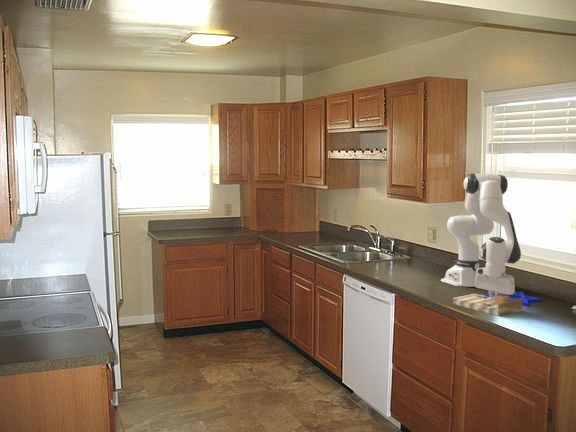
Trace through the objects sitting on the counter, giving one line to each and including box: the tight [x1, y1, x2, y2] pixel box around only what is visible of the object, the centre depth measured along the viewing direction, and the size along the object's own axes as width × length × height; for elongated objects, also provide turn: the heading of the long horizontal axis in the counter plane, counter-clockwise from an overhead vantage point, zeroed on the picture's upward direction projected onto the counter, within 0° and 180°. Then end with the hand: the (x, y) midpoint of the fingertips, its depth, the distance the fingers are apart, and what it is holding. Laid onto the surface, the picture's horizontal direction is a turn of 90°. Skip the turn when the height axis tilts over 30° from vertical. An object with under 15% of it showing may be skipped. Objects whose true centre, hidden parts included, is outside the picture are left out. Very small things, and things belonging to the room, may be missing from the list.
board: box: [452, 293, 523, 317], centre depth 299 cm, size 27×17×6 cm, turn 36°
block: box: [495, 294, 510, 306], centre depth 292 cm, size 4×4×4 cm
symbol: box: [479, 291, 542, 307], centre depth 317 cm, size 26×2×30 cm
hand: (493, 300), depth 296 cm, fingers closed
